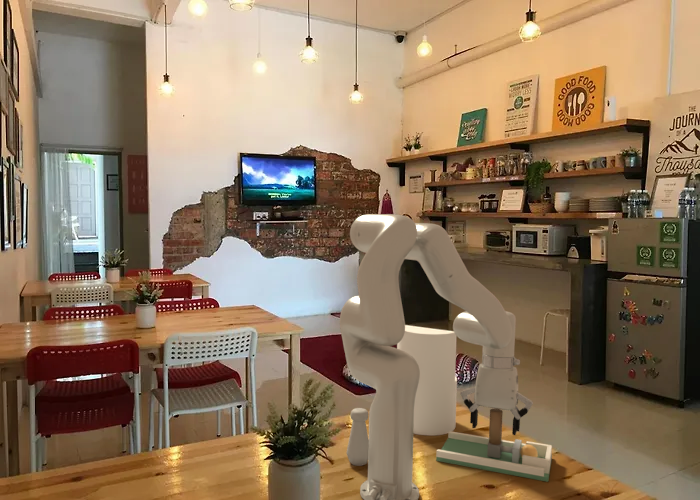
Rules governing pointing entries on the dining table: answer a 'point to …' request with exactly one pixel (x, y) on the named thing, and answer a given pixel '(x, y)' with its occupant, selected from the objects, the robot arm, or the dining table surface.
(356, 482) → the dining table surface
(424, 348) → the cylinder
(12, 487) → the dining table surface
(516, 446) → the striker
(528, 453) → the ball
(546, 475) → the pitch
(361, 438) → the salt shaker
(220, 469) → the dining table surface
